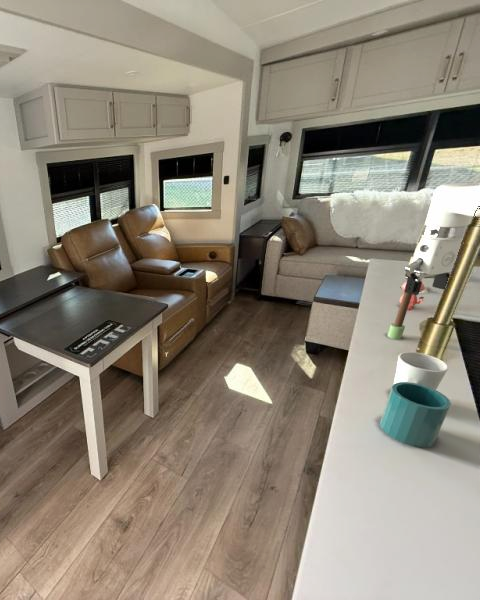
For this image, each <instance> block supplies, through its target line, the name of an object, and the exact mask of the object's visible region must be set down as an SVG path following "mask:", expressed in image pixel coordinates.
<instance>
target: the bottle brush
mask: <svg viewBox="0 0 480 600" xmlns="http://www.w3.org/2000/svg"><path fill="white" fill-rule="evenodd" d="M402 295H403V298H402V301H401V303H400V304H399V307H398V311H397V314H396V318H395V321H394V322H393V323H391V324H390V326H389V329H388V332H387V337H388V338H390V339H393V340H401V339H402V337H403V335H404V331H405V328H406V326H405V325H404V321H405V319H406V315H407V312H408V310H407V309H408V306H409V303H410V300H411V297H412V294H409V293H406V292H404V291H403V294H402Z"/></svg>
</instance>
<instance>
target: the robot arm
mask: <svg viewBox="0 0 480 600" xmlns="http://www.w3.org/2000/svg"><path fill="white" fill-rule="evenodd" d="M478 206H480V184H476V183H472V182H455V183H454V182H453V183H445V184H441V185H439V186H437V187H436V188H435V189H434V191H433V194H432V198H431V201H430V205H429V208H428V212H427V213H428V215H427V214H426V215H427V216H426V218H427V219H425V222H426V223H425V222H424V224H425V226H424V225H423V226H424V230H423V232H422V235H421V238H420V240H419V241H420V242H419V244H418V247H417V249H416V248H415V249H416V252H415V251H414V252H415V254H414V253H413V254H414V257H413V260H412V263H411V264H410V265H409V264H407V265H406V266H405V267H404V276H405V280H406V282H407V283H406V287H405V290H404V291H403V293H404V292H406V293H409V294H413V295H417V296H418V295H419V294H420V293H419V291H420V287H421V284H422V283H423V279H424V278H425V277H424V276H425V275H426V274H427V275H435V277H434V279H433V282H432V285H431V286H432V287H433V288H435V289H440V290H444V289H445V286H446V284H447V281H448V278H449V276H450V273H451V271H452V268H453V265H454V263H455V261H456V258H457V255H458V252H459V249H460V246H461V242H462V240H463V237H464V235H465V232H466V230H467V227H468V223H469V220H470V217H473V216H474V213H475V211H476V210H477V211H476V213H475V216H476V217H475V216H474V218H480V209H479V208H480V207H478ZM477 208H478V209H477ZM464 238H465V237H464ZM416 273H418V274H420V275H419V276H418V277H417V275H416ZM421 280H422V282H420V281H421ZM445 290H446V289H445ZM445 290H444V291H445Z"/></svg>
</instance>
